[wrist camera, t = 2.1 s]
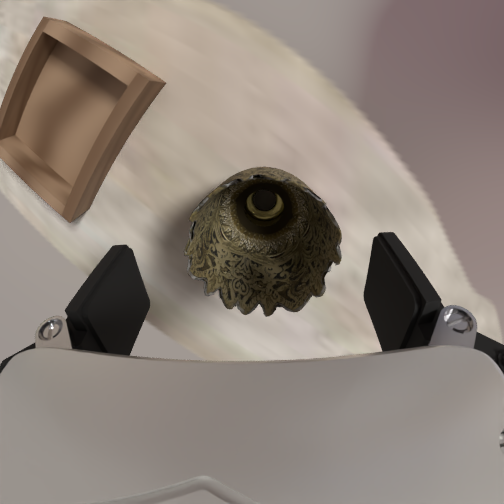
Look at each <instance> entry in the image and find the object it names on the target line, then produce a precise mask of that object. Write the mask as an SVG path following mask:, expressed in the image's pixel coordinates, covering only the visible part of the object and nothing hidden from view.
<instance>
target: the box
mask: <svg viewBox="0 0 504 504" xmlns="http://www.w3.org/2000/svg"><path fill="white" fill-rule="evenodd" d="M165 84H166V82H164V81H163V80H161V79H160V78H158V77H157V76H156V75H154V74H153V73H151V72H150V71H148V70H147V69H145V68H144V67H142V66H141V65H139V64H138V63H136V62H134V61H133V60H131V59H130V58H128V57H127V56H125V55H124V54H122V53H120V52H119V51H117V50H116V49H114V48H112V47H111V46H109V45H107V44H106V43H104V42H102V41H101V40H99V39H97V38H95V37H94V36H92V35H90V34H89V33H87V32H85V31H83V30H81V29H80V28H78V27H76V26H74V25H72V24H70V23H69V22H67V21H63V20H58V19H53V18H48V17H43V19H42V20H41V22H40V23H39V25H38V27H37V29H36V30H35V32H34V34H33V36H32V37H31V39H30V41H29V43H28V45H27V47H26V49H25V51H24V53H23V55H22V57H21V59H20V61H19V63H18V65H17V68H16V70H15V72H14V74H13V77H12V79H11V81H10V84H9V86H8V89H7V91H6V94H5V97H4V99H3V102H2V105H1V108H0V158H1V159H2V160H3V161H4V162H5V163H6V164H7V165H8V166H9V167H10V168H11V169H12V170H13V171H14V172H15V173H16V174H17V175H18V176H19V177H20V178H21V179H22V180H23V181H24V182H25V183H26V184H27V185H28V186H29V187H30V188H31V189H33V190H34V191H35V192H36V193H37V194H38V195H39V196H40V197H41V198H42V199H43V200H44V201H46V202H47V203H48V204H49V205H50V206H51V207H52V208H53V209H54V210H56V211H57V212H58V213H59V214H60V215H61V216H62V217H64V218H65V219H66V220H67V221H68V222H69V223H71V222H72V221H74V220H75V219H76V218H77V217H79V216H80V215H81V214H83V213H84V212H85V211H87V210H88V209H89V208H90V206H91V204H92V202H93V200H94V198H95V196H96V194H97V192H98V190H99V188H100V186H101V184H102V182H103V181H104V179H105V177H106V175H107V173H108V171H109V169H110V168H111V166H112V164H113V162H114V161H115V159H116V157H117V155H118V154H119V152H120V150H121V149H122V147H123V145H124V144H125V142H126V140H127V139H128V137H129V136H130V134H131V133H132V131H133V129H134V128H135V126H136V125H137V123H138V122H139V120H140V119H141V117H142V116H143V114H144V113H145V111H146V110H147V109H148V107H149V106H150V104H151V103H152V101H153V100H154V99H155V97H156V96H157V95H158V93H159V92H160V91H161V89H162V88H163V87H164V85H165Z"/></svg>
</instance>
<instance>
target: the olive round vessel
mask: <svg viewBox="0 0 504 504" xmlns="http://www.w3.org/2000/svg"><path fill="white" fill-rule="evenodd" d="M259 190H270V191H272V192H273V193H274V195H275V197H276V204H275V206H274V207H273V208H272V209H270V210H268V211H261V210H259V209H257V208H256V207H255V206H254V204H253V196H254V194H255V193H256V192H257V191H259ZM189 221H191V222H192V225H191V228H190V230H189V234H190V237H189V240H188V242H187V245H186V247H185V250H184V255H185V256H189V259H188V268H187V270H188V275H189V276H190V277H191V278H192V279H195V280H202V281H204V293H205V295H206V296H210V295H213V294H214V293H215V292H216V291H217V290H219V297H220V298H221V299H222V301H223V303H224V305H225V307H226V308H227V309H232V308H233V307H234V306H235V307H236V306H237V307H238V309H239V310H240V311H241V313H242V314H244V315H247V314H250V313H251V312H252V311H253V310H255V308H256V307H257V306H258V304H260V305H261V307H262V309H263V312H264V315H265V316H266V317H267V316H270V315H272V314H273V312H274V311H275V310H276V307H283V308H284V309H285V310H287V311H291V312H298V311H300V310H301V309H302V308H303V307H304V306H305V305H306V304H307V302H308V301H309V299H310V298H311V297H312V295H313V296H315V297H321V296H322V295H323V294H324V292H325V290H326V286H325V279H324V277H325V275H326V274H327V272H330V271H331V265H332V263H333V262H334V263H336V265H339V264H340V262H341V251H340V247H339V245H340V243H341V239H342V236H341V230H340V228H339V225H338V223H337V222H336V220H335V218H334V216H333V215H332V213H331V212H330V211H329V209H328V208H327V206H326V203H325V202H324V201H323V200H322V199H321V198H320V197H318V196H317V195H316V194H315V193H314V192H313V191H312V190H311V189H310V188H309V187H308V186H307V185H306V184H305V183H304V182H302V181H301V180H300V179H298V178H297V177H295V176H294V175H292V174H290V173H288V172H286V171H283V170H280V169H276V168H271V167H256V168H251V169H247V170H244V171H241V172H239V173H237V174H235V175H233V176H231V177H230V178H228V179H227V180H226V181H224V182H223V183H222V184H221V185H219V186H218V187H217V188H216V189H215V190H214V191H212V192H211V193H210V194H209V195H208V196H206V197H205V198H204V199H203V200H202V202H201V203H200V204H199V206H198V207H197V208H196V209H195V210H194V211H193V212H192V214H191V216H190V218H189Z"/></svg>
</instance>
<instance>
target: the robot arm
mask: <svg viewBox="0 0 504 504" xmlns="http://www.w3.org/2000/svg"><path fill="white" fill-rule="evenodd" d="M364 301H365V304H366V307H367V309H368V312H369V315H370V317H371V320H372V323H373V325H374V328H375V331H376V334H377V337H378V339H379V342H380V345H381V348H382V351H383V352H376V353H367V354H358V355H349V356H339V357H327V358H314V359H298V360H275V361H200V360H178V359H161V358H148V357H137V356H130V353H131V351H132V348H133V346H134V343H135V341H136V338H137V336H138V334H139V331H140V329H141V327H142V324H143V322H144V320H145V317H146V315H147V313H148V310H149V308H150V300H149V297H148V295H147V292H146V289H145V286H144V283H143V280H142V277H141V275H140V272H139V269H138V266H137V262H136V259H135V256H134V253H133V250H132V249H131V248H129V247H128V246H127V245H114V246H112V247H111V249H110V250H109V251H108V252H107V254H106V255H105V256H104V257H103V259H102V260H101V261H100V262H99V264H98V265H97V266H96V268H95V269H94V270H93V272H92V273H91V274H90V276H89V277H88V278H87V280H86V281H85V282H84V284H83V285H82V286H81V288H80V289H79V290H78V292H77V293H76V295H75V296H74V298H73V299H72V300H71V302H70V303H69V305H68V306H67V308H66V309H65V312H66V314H67V316H68V317H67V319H66V320H65V319H64V318H63V317H62V316H53V317H51V318H48V319H46V320H45V321H44V322H43V323H41V324H40V326H39V327H38V328H37V330H36V333H35V343H34V344H32V345H30V346H28V347H26V348H24V349H23V350H21V351H19V352H17V353H16V354H14V355H12V356H10V357H8V358H6V359H5V360H3V361H2V363H1V365H0V504H504V345H503V344H501V343H498V342H496V341H494V340H492V339H490V338H488V337H486V336H484V335H482V334H480V333H478V332H477V322H476V319H475V317H474V316H473V315H472V313H471V312H469V311H468V310H467V309H465V308H463V307H460V306H457V305H450V306H446V307H444V306H443V305H442V303H441V298H440V297H439V295H438V294H437V292H436V291H435V289H434V288H433V286H432V285H431V283H430V282H429V280H428V279H427V277H426V276H425V274H424V273H423V271H422V270H421V269H420V267H419V266H418V264H417V263H416V261H415V260H414V259H413V257H412V256H411V255H410V253H409V252H408V250H407V249H406V248H405V246H404V245H403V244H402V242H401V241H400V240H399V239H398V237H397V236H396V235H395V233H393V232H383V233H379V234H378V236H376V237H374V239H373V244H372V250H371V257H370V263H369V268H368V274H367V279H366V284H365V289H364Z"/></svg>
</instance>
